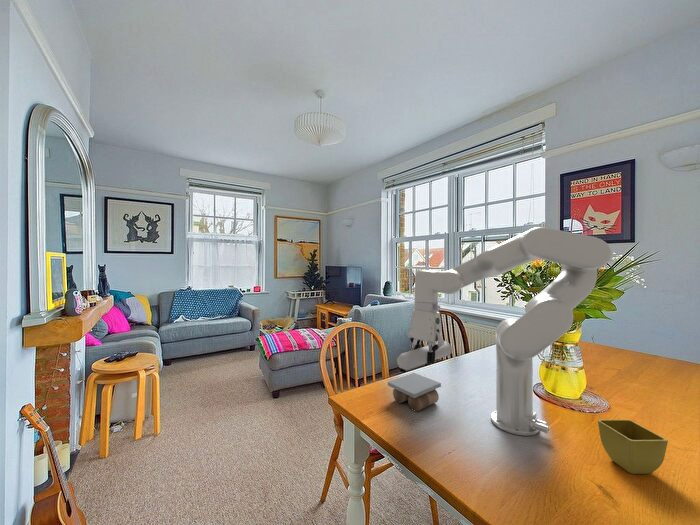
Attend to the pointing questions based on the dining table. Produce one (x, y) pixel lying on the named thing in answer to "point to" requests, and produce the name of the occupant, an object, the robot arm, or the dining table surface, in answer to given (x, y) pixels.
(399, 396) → the rollers
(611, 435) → the flower pot
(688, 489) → the dining table surface
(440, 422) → the dining table surface
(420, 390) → the slab
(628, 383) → the dining table surface
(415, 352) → the tube
